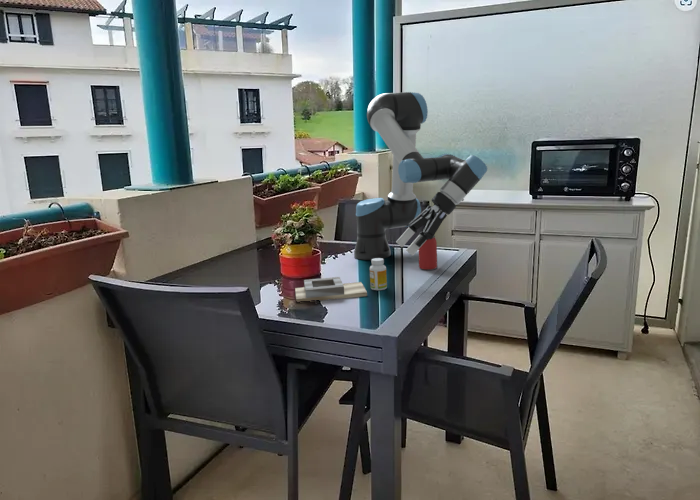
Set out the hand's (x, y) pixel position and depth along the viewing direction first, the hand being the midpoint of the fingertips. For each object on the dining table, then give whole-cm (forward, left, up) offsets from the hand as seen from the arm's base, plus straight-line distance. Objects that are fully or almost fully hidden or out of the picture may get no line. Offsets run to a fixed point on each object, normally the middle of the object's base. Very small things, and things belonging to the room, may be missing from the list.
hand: (403, 248), depth 163 cm
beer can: (-20, +13, -13) cm, 27 cm away
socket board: (0, -25, -13) cm, 28 cm away
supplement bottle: (-1, -9, -13) cm, 15 cm away
